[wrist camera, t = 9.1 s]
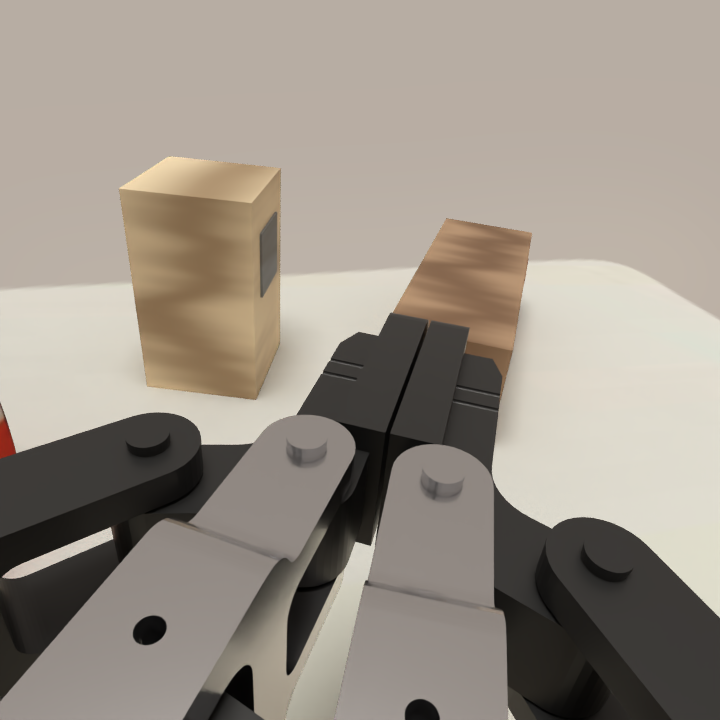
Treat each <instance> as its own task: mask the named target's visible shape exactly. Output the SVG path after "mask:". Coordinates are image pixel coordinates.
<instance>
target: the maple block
mask: <svg viewBox="0 0 720 720" xmlns="http://www.w3.org/2000/svg"><path fill="white" fill-rule="evenodd" d="M280 186H281V169H280V168H274V167H265V166H255V165H246V164H236V163H227V162H218V161H207V160H198V159H189V158H180V157H171V156H169V157H167V158H166V159H164V160H163V161H161V162H159V163H158V164H156V165H155V166H153V167H152V168H150V169H149V170H147V171H146V172H144V173H143V174H141V175H139V176H138V177H136V178H135V179H133V180H132V181H130V182H129V183H127V184H125V185H124V186H122V187H121V188H119V192H120V200H121V206H122V214H123V220H124V227H125V234H126V241H127V248H128V255H129V262H130V269H131V276H132V283H133V290H134V297H135V304H136V311H137V318H138V325H139V332H140V339H141V346H142V353H143V360H144V367H145V374H146V381H147V386H148V387H156V388H164V389H172V390H180V391H188V392H196V393H204V394H212V395H221V396H229V397H237V398H245V399H253V400H256V398H257V396H258V394H259V391H260V389H261V387H262V384H263V382H264V380H265V377H266V375H267V372H268V370H269V368H270V365H271V363H272V361H273V358H274V356H275V353H276V351H277V349H278V346H279V344H280V191H281V189H280V188H281V187H280Z"/></svg>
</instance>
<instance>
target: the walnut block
mask: <svg viewBox="0 0 720 720" xmlns="http://www.w3.org/2000/svg"><path fill="white" fill-rule="evenodd" d="M531 236H532V233H529V232H524V231H518V230H512V229H506V228H500V227H494V226H488V225H483V224H477V223H471V222H465V221H459V220H453V219H448V218H446V221H445V222H444V224H443V226H442V228H441V229H440V231H439V233H438V234H437V236H436V238H435V240H434V241H433V243H432V245H431V247H430V248H429V250H428V252H427V254H426V255H425V257H424V259H423V261H422V263H421V264H420V266H419V268H418V269H417V271H416V273H415V275H414V276H413V278H412V280H411V282H410V283H409V285H408V287H407V289H406V290H405V292H404V294H403V296H402V298H401V299H400V301H399V303H398V305H397V306H396V308H395V310H394V312H393V313H396V314H401V315H407V316H412V317H417V318H422V319H427V320H429V325H430V323H431V320H433V321H438V322H443V323H449V324H454V325H459V326H464V327H469V328H470V329H469V334H468V339H467V344H466V349H465V353H466V354H471V355H475V356H480V357H485V358H490V359H493V360H494V362H495V364H496V366H497V367H498V369H499V371H500V373H501V375H502V376H503V377H502V385H501V393H500V399H501V395H502V391H503V387H504V383H505V379H506V375H507V371H508V368H509V364H510V360H511V356H512V352H513V346H514V340H515V334H516V328H517V322H518V316H519V310H520V303H521V297H522V291H523V285H524V281H525V276H526V270H527V264H528V255H529V249H530V242H531ZM428 328H429V326H428ZM499 403H500V402H499Z"/></svg>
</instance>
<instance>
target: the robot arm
mask: <svg viewBox="0 0 720 720" xmlns="http://www.w3.org/2000/svg"><path fill="white" fill-rule="evenodd" d="M428 326H429V328H428ZM469 329H470V328H469V327H464V326H459V325H454V324H449V323H443V322H438V321H433V320H431V323H430V325H429V320H427V319H422V318H417V317H412V316H407V315H401V314H396V313H390V314H389V316H388V318H387V320H386V322H385V324H384V326H383V328H382V330H381V332H380V334H379V336H376V335H371V334H366V333H361V332H358V333H356V334H355V335H353V336H351V337H349V338H348V339H346V340H344V341H343V342H341V343H340V344H339V346H338V347H337V349H336V351H335V352H334V354H333V356H332V357H331V361H329V362H328V364H327V366H326V367H325V369H324V370H323V374H321V375H320V377H319V379H318V380H317V382H316V384H315V385H314V387H313V389H312V390H311V392H310V394H309V395H308V397H307V398H306V400H305V402H304V403H303V405H302V407H301V408H300V410H299V412H298V413H297V415H296V416H290V417H286V418H283V419H280V420H278V421H276V422H274V423H272V424H271V425H270V426H268V427H267V428H266V429H265V430H264V431H263V432H262V433H261V435H260V436H259V437H258V438H257V440H256V441H255V442H254V443H252V444H244V445H201V436H200V432H199V430H198V428H197V427H196V426H195V425H194V424H193V423H192V422H191V421H189V420H188V419H186V418H184V417H182V416H179V415H175V414H170V413H146V414H140V415H136V416H133V417H129V418H126V419H123V420H120V421H117V422H114V423H110V424H107V425H104V426H101V427H98V428H95V429H92V430H89V431H85V432H82V433H79V434H76V435H73V436H70V437H67V438H63V439H60V440H57V441H54V442H51V443H48V444H45V445H41V446H38V447H35V448H32V449H29V450H26V451H23V452H19V453H16V454H13V455H10V456H7V457H4V458H1V459H0V720H285V718H286V714H287V710H288V706H289V703H290V700H291V697H292V694H293V691H294V689H295V686H296V684H297V682H298V679H299V677H300V675H301V673H302V671H303V668H304V666H305V664H306V662H307V659H308V657H309V655H310V653H311V651H312V648H313V646H314V644H315V642H316V640H317V637H318V635H319V633H320V631H321V629H322V626H323V624H324V622H325V620H326V618H327V615H328V613H329V611H330V609H331V606H332V604H333V602H334V600H335V598H336V595H337V593H338V591H339V589H340V587H341V584H342V581H343V575H344V568H345V567H346V565H347V563H348V560H349V558H350V555H351V552H352V549H353V546H354V544H355V542H359V543H362V544H366V545H370V546H371V544H372V540H373V537H374V534H375V531H376V528H377V535H376V542H375V550H374V554H373V559H372V564H371V568H370V573H369V577H368V581H367V580H366V581H365V584H364V587H363V591H362V595H361V600H360V604H359V609H358V613H357V618H356V622H355V627H354V631H353V636H352V640H351V645H350V649H349V654H348V658H347V663H346V668H345V672H344V677H343V681H342V686H341V690H340V695H339V699H338V704H337V708H336V713H335V717H334V720H508V708H509V709H510V711H511V713H512V714H513V716H514V718H515V719H516V720H720V618H719V617H718V616H717V615H716V614H715V613H714V612H713V611H712V610H711V609H710V608H709V607H708V606H707V605H706V604H705V603H704V602H703V601H702V600H701V599H700V598H699V597H698V596H697V595H696V594H695V593H694V592H693V591H692V590H691V589H690V588H689V587H688V586H687V585H686V584H685V583H684V582H683V581H682V580H681V579H680V578H679V577H678V576H677V575H676V574H675V573H674V572H673V571H672V570H671V569H670V568H669V567H668V566H667V565H666V564H665V563H664V562H663V561H662V560H661V559H660V558H659V557H658V556H657V555H656V554H655V553H654V552H653V551H652V550H651V549H650V548H649V547H648V546H647V545H646V544H645V543H644V542H643V541H642V540H641V539H639V538H638V537H636V536H635V535H634V534H632V533H631V532H629V531H627V530H625V529H624V528H622V527H620V526H617V525H615V524H613V523H610V522H607V521H604V520H600V519H595V518H586V517H580V518H572V519H567V520H565V521H562V522H560V523H559V524H557V525H556V526H554V527H553V529H551V528H549V527H547V526H545V525H543V524H542V523H540V522H538V521H536V520H534V519H532V518H530V517H528V516H526V515H525V514H523V513H521V512H520V511H518V510H517V509H516V508H514V507H513V506H512V505H511V504H510V503H509V502H507V501H506V500H505V498H504V497H503V496H502V495H501V494H500V492H499V491H498V489H497V487H496V486H495V483H494V481H493V477H492V461H493V452H494V444H495V436H496V427H497V419H498V409H499V402H500V393H501V385H502V377H503V376H502V375H501V373H500V371H499V369H498V367H497V366H496V364H495V362H494V360H493V359H490V358H485V357H480V356H475V355H471V354H466V353H465V349H466V344H467V339H468V334H469ZM377 525H378V527H377ZM109 527H111V529H112V534H113V540H110V541H108V542H105V543H103V544H101V545H98V546H96V547H94V548H91V549H89V550H87V551H84V552H82V553H79V554H77V555H75V556H72V557H70V558H68V559H65V560H63V561H60V562H58V563H56V564H53V565H51V566H49V567H46V568H44V569H42V570H39V571H37V572H34V573H32V574H30V575H27V576H24V577H21V578H16V579H6V578H2V576H3V575H4V574H5V573H7V572H8V571H9V570H11V569H12V568H14V567H16V566H18V565H20V564H22V563H24V562H27V561H29V560H32V559H34V558H36V557H39V556H41V555H44V554H46V553H49V552H51V551H53V550H56V549H58V548H61V547H63V546H66V545H68V544H70V543H73V542H75V541H78V540H80V539H83V538H85V537H88V536H90V535H92V534H95V533H97V532H100V531H102V530H105V529H107V528H109Z"/></svg>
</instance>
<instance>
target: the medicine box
mask: <svg viewBox="0 0 720 720" xmlns="http://www.w3.org/2000/svg"><path fill="white" fill-rule="evenodd" d="M13 454H16V450H15V446H14V443H13V439H12V436H11V433H10V429H9V426H8V423H7V420H6V417H5V414H4V411H3V409H2V406H1V403H0V459H1V458H4V457H7V456H10V455H13Z"/></svg>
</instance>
